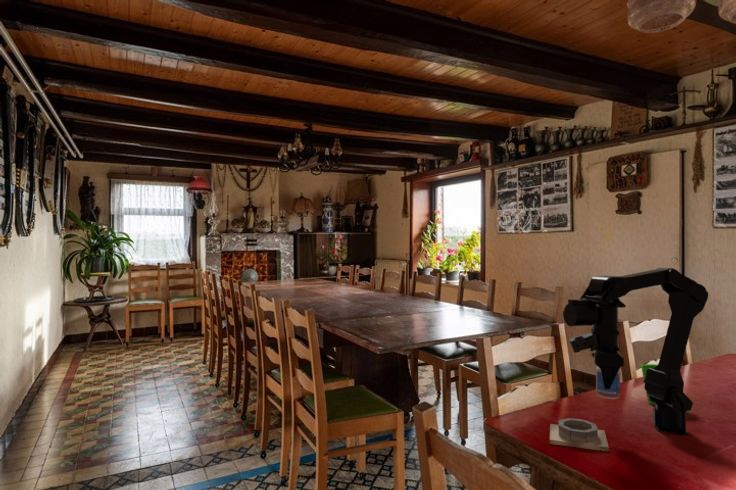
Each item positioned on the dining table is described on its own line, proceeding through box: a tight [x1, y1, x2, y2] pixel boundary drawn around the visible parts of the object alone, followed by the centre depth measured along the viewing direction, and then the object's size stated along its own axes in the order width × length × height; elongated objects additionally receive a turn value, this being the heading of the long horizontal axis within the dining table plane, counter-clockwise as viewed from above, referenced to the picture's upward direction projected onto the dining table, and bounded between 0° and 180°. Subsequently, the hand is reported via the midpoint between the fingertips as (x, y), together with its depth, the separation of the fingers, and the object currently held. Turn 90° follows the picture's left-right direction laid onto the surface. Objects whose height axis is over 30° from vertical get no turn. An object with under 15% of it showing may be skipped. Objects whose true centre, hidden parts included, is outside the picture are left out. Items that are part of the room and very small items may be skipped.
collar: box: [549, 417, 610, 452], centre depth 118 cm, size 13×11×4 cm
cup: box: [640, 363, 658, 406], centre depth 143 cm, size 9×9×11 cm
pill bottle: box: [595, 365, 621, 400], centre depth 120 cm, size 6×5×10 cm
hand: (605, 385), depth 120 cm, fingers closed on pill bottle, 5 cm apart
